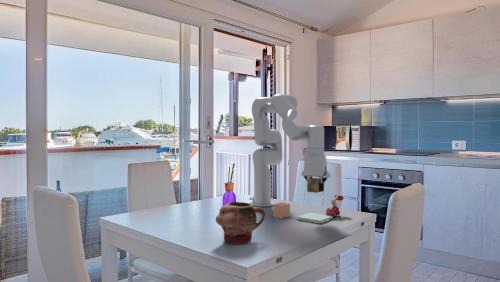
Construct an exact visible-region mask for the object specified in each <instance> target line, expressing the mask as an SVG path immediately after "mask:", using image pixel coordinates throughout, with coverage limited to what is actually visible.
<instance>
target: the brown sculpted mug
mask: <svg viewBox="0 0 500 282" xmlns="http://www.w3.org/2000/svg"><path fill="white" fill-rule="evenodd" d="M258 213H259V214H260V215H261V219H260V220H259V221H258V222H257V214H258ZM265 219H266V211H265V210H264V208H263V207H258V206H253V205H252V204H251V203H248V202H244V201H243V202H241V201H231V202H228V203H225V204H224V205H222V206H221V207H220V208H219V213H218V215H216V217H215V221H216V224H217V225H218V226H220V227H221V229H222V230H223V240H224V241H225V243H229V244H232V245H245V244H249V243H250V242H251V240H252V237H253V231H255V230H256V229H257V228H259V227H260V226H261V225H262V223H263V222H264V221H265Z"/></svg>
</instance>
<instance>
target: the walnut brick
mask: <svg viewBox="0 0 500 282" xmlns="http://www.w3.org/2000/svg"><path fill="white" fill-rule="evenodd" d="M306 183H307V184H306V185H307V186H306V188H307V189H306V192H307V193H315V194H317V193H320V192H319V183H320V180H319V177H312V178H309V179H307V181H306ZM322 192H325V189H324V190H323V191H322Z"/></svg>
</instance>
